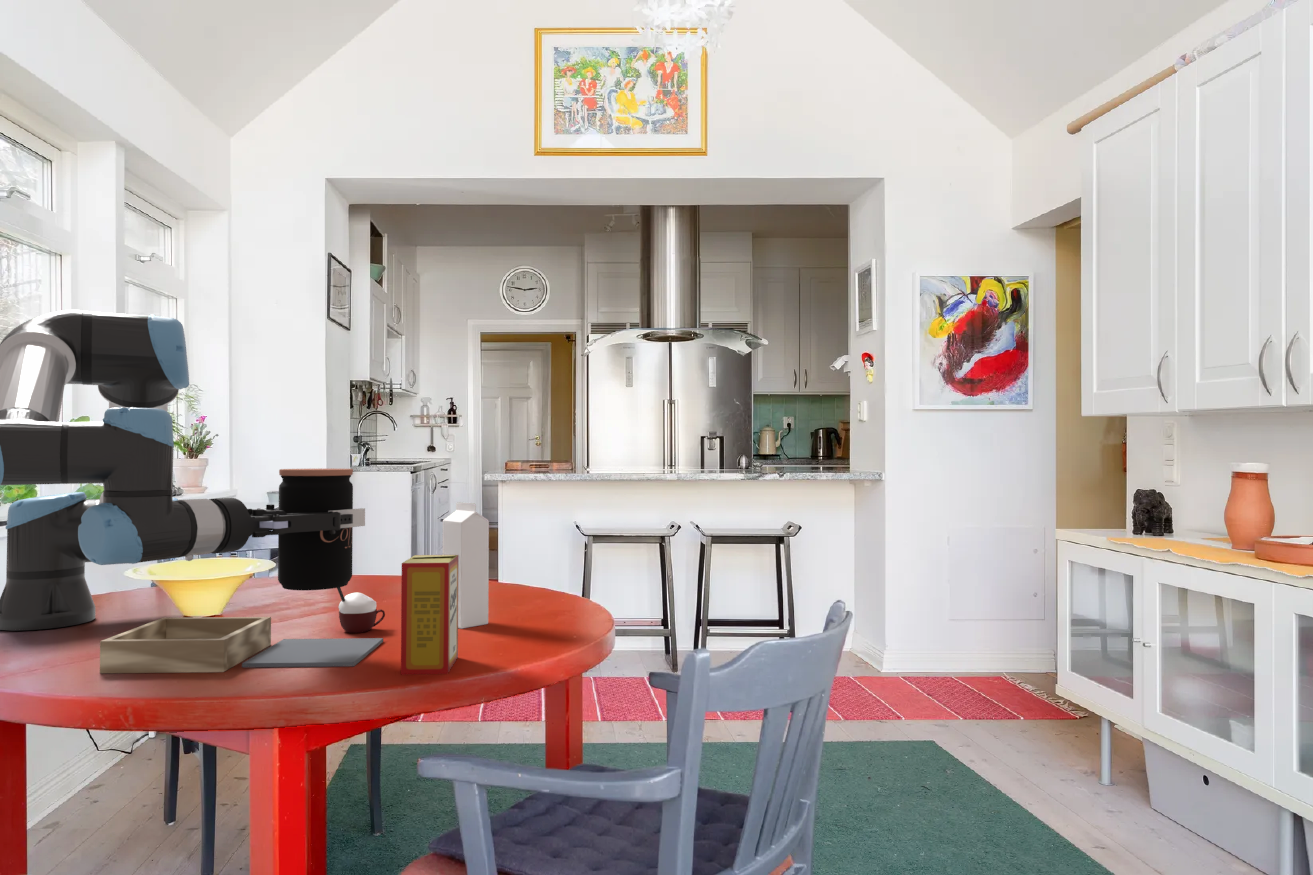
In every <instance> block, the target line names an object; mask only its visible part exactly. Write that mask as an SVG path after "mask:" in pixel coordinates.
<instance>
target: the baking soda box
mask: <svg viewBox="0 0 1313 875" xmlns="http://www.w3.org/2000/svg"><path fill="white" fill-rule="evenodd" d="M458 562H459V555H443V554H415V555H413V556H411V557H410V558H408V559H406V560H405V561H403V562H402V563H401V592H400V593H401V596H400V597H401V599H400V600H401V602H400V606H401V608H400V611H401V613H400V615H401V617H400V620H401V621H400V623H401V624H400V626H401V627H400V635H401V636H400V675H402V676H403V675H404V676H405V675H445V674H446V675H447V673H448V672H450V671H451V670H450V669H452V668H453V666H454V665H455V663H456V662H457V660H458V658H459V628H458ZM456 659H457V660H456ZM453 664H454V665H453ZM451 667H452V668H451ZM448 674H449V673H448Z"/></svg>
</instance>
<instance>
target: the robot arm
mask: <svg viewBox="0 0 1313 875" xmlns="http://www.w3.org/2000/svg"><path fill="white" fill-rule="evenodd" d="M186 344H187V343H186V335H185V328H184V326H183V324H182V322H181V321H179V319H177V318H175V317H167V316H158V315H156V314H148V315H142V314H141V315H138V314H130V313H129V314H126V313H116V312H115V313H113V312H101V311H92V310H90V311H89V310H83V309H81V310H80V309H65V310H64V309H63V310H57V311H53V312H48V313H45V314H42V315H38V316H36V317H33V318H31V319H28V320H26V321H25V322H23V323H20V324H19V325H18V326H16V327H14V328H12V330H10V332H8V333H7V334H6V335H5V336H4V337H3V338H2V340H1V341H0V486H19V485H20V486H22V485H23V486H26V485H28V486H29V485H31V486H32V485H60V484H61V485H62V484H63V485H65V484H66V485H68V484H70V485H74V484H76V485H77V484H78V485H79V484H80V485H81V484H102V485H103V491H102V493H101V494H100V497H99V498H95V499H93V498H92V499H87V497H88V496H87V494H86V493H85V491H77V492H76V491H75V492H66V493H56V494H49V495H42V496H35V497H29V498H24V499H23V498H22V499H18V500H16V501H13V502H12V503H10V505H9V507H8V510H7V521H6V525H5V530H7V533H6V579H5V580H6V581H5V586H4V587H3V590H2V592H1V595H0V631H13V632H14V631H36V630H38V631H39V630H49V629H57V628H65V627H71V626H75V625H80V624H85V623H88V622H91V621H93V620H95V619H96V610H97V609H96V605H95V601H94V599H93V597H92V593H91V590H90V589H89V586H88V583H87V581H86V576H85V575H86V574H85V573H86V572H85V568H86V567H85V566H86V563H93V564H96V565H100V566H109V565H124V564H126V565H127V564H131V565H135V564H138V563H146V562H147V563H148V562H153V561H154V562H156V561H161V560H169V559H179V558H184V560H185V561H188V562H191V561H193V560H194V556H200V555H201V556H202V555H209V554H214V555H215V554H216V555H217V554H223V553H224V554H225V553H233V552H238V551H239V550H241V549H242V548H243V547H244V546H245V545H246V544H247V542H248V540H249V539H250V537H251V538H265V537H266V536H278V535H282V534H285V533H294V532H310V531H325V530H330V534H335V531H337V530H340V528H349V527H353V528H357V527H365V526H366V508H362V507H361V508H353V509H346V510H333V511H328V512H320V513H290V514H286V512H285V511H282V510H279V507H277V508H276V510H275V504H265V506H266V507H265V509H263V508H256V509H254V508H247V506H246V505H245V503H244V502H243V501H242V500H240V499H238V498H236V497H222V498H221V497H219V498H209V499H208V498H192V499H190V498H189V499H178V498H177V497H173V485H174V484H173V483H174V482H173V481H174V449H175V446H174V445H175V444H174V428H173V424H174V423H173V417H172V415H171V414H170V413H169V411H168V407H169V404H170V403H172V402H174V400H175V399H177V397H178V394H179V391H180V390H182V389H186V388H188V387H189V386H190V372H189V364H188V355H187V345H186ZM66 385H83V386H84V385H87V386H97V389H98V392H99V394H100V395H101V397H102V398H103V399H104V400H106V401H107V402H108V408H107V409H106V410H105V412H104V416H103V419H102V421H68V422H67V421H66V422H61V421H60V416H61V411H62V410H61V409H62V404H63V398H64V390H65V386H66Z"/></svg>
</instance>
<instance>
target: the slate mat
mask: <svg viewBox="0 0 1313 875" xmlns="http://www.w3.org/2000/svg"><path fill="white" fill-rule="evenodd" d="M383 642H384V638H383V637H375V638H373V637H372V638H371V637H370V638H369V637H367V638H364V637H363V638H361V637H359V638H352V637H351V638H348V637H347V638H346V637H344V638H343V637H342V638H283V639H281V640H280V641H278V642H276V643H274V644H272V645H270V647H269V646H268V647H266V648H265V649H263V651H262V650H261V651H260V652H258V653H256V654H254V655H253V656H251V657H249V659H248V658H247V659H246V660H244V661H242V662H241V668H304V667H305V668H306V667H307V668H313V667H315V668H317V667H322V668H323V667H355V666H356V665H358V663H360V662H361V661H362V660H364V658H366V657H367V656H368V655H369V654H370V653H372V652H373V651H374V650H375V649H377V647H379V646H380V645H381V644H383Z"/></svg>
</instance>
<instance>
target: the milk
mask: <svg viewBox="0 0 1313 875" xmlns="http://www.w3.org/2000/svg"><path fill="white" fill-rule="evenodd" d="M455 504H456V505H455V511H453V512H452V513H451V514H449V515H448V516H446V517H445V518H443V520H442V555H459V562H458V629H467V628H472V627H477V626H483V625H484V626H485V625H488V624H489V573H490V572H489V567H490V566H489V562H490V560H489V557H490V556H489V555H490V553H489V552H490V548H489V546H490V545H489V544H490V543H489V542H490V534H489V532H490V526H489V525H490V521H489V519H488V518H486V517H485V516H483V515H482V514H480V513H479V512H478V511H477V505H476V503H473V502H464V501H463V502H461V501H457V502H456V503H455Z"/></svg>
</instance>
